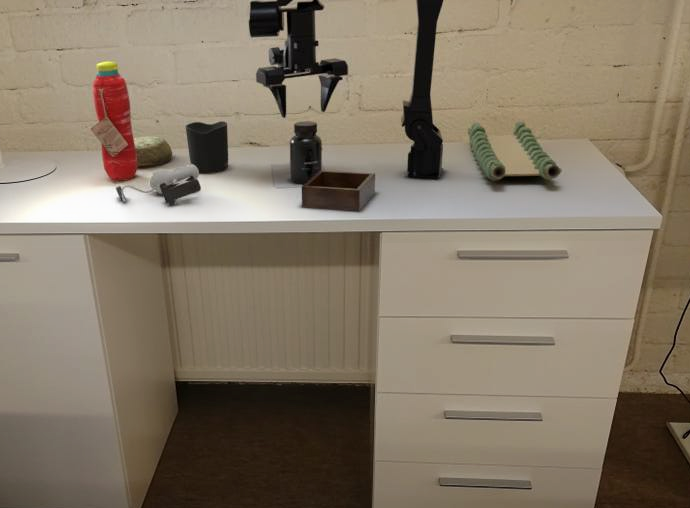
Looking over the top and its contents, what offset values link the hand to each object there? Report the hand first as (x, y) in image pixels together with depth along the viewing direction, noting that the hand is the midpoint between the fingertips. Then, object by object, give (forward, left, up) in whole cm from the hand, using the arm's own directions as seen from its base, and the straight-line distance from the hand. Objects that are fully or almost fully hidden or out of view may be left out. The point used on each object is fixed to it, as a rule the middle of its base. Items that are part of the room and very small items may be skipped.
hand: (303, 114), depth 164 cm
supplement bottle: (-1, +3, -13) cm, 14 cm away
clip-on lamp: (+25, +22, -13) cm, 36 cm away
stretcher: (-41, -18, -13) cm, 47 cm away
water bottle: (+41, +11, -13) cm, 44 cm away
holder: (-12, +15, -13) cm, 23 cm away
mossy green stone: (+43, -4, -13) cm, 45 cm away
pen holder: (+24, -1, -13) cm, 27 cm away
